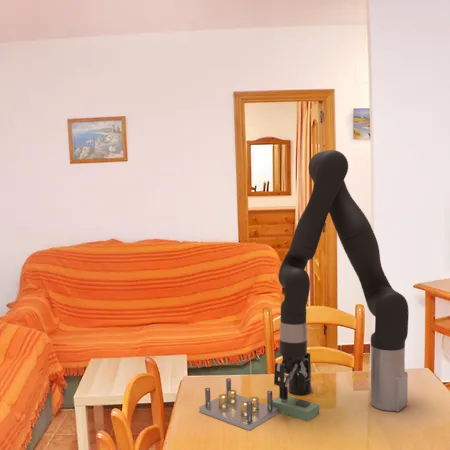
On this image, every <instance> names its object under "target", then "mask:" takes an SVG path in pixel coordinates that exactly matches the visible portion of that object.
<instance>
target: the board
mask: <svg viewBox="0 0 450 450" xmlns="http://www.w3.org/2000/svg"><path fill="white" fill-rule="evenodd" d="M272 404H273V406H274V407H277V408H279V413H278V414H282V415H286V416H289V417H292V418H295V419H298V420H303V421H304V422H305V421H306V422H310V421H311V420H313V419H314V418H315V417H317V416H318V415H320V403H315V402H312V401H308V400H304V399H301V398H298V397H293V396H290V395H288V399H287V400H283V399H281V398H280V396H279V395H278V397H277V396H276V398H273V399H272Z"/></svg>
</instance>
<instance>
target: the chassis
mask: <svg viewBox="0 0 450 450" xmlns="http://www.w3.org/2000/svg"><path fill="white" fill-rule="evenodd" d="M225 379H226V380H225V385H226V386H225V387H226V390H225V391H226V394H225V393H221V394H219V395H218V397H216V398H215V399H212V400H211V388H210V387H206V388H204V393H205V394H204V395H205V398H204V399H205V402H204V403H205V404H202V405H201V406H199V407H198V409H199V413H201V414H204V415H205V416H209V417H212V418H215V419H217V420H220V421H222V422H224V423H227V424H230V425H233V426H236V427H238V428H241V429H244V430H247V431H252V430H253V429H255V428H257V427H258V426H260V425H261V424H263V423H265V422H267V421H268V420H271V419H272V418H273V417H275V416H277V415H278V414H280V413H279V408H277V407H274V406H273V404H272V400H273V390H267V392H266V398H267V399H266V400H267V403H264V402H261V401H259V400H260V399H259V397H258V396H251V397H249V398H248V397H245V396H242V395H240V394H237V390H236V389H232V379H231V378H228V377H227V378H225Z"/></svg>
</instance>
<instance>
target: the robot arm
mask: <svg viewBox="0 0 450 450" xmlns="http://www.w3.org/2000/svg"><path fill="white" fill-rule="evenodd" d="M348 171H349V161H348V159H347V157H346V155H344V154H343V153H342V152H341V151H339V150H333V149H332V150H331V149H329V150H324V151H319V152H317V153H314V155H313V156H312V157H311V159H310V160H309V163H308V173H309V176H310V178H311V180H312V182H313V188H312V191H311V195H310V197H309V200H308V202H307V204H306V207H305V208H304V210H303V213H302V214H301V215H300V218H299V220H298V222H297V224H296V228H295V230H294V233H293V237H292V239H291V242H290V247H289V250H288V251H287V253H286V255H285V256H284V259H283V260H282V262H281V265H280V266H279V270H278V282H279V284H280V285H281V287H282V288H284V300H283V301H282V302H281V304H280V324H279V339H278V340H279V341H278V342H279V349H278V350H279V351H278V352H279V355H281V357H282V361H281V362H280V363H278V362H276V363H274V372H273V373H274V374H273V375H274V376H273V377H274V379H273V385H274V386H278V388H279V395H278V397H279V396H280V398H281V399H283V400H287V399H288V396H289V389H288V383H289V381H290V380H291V379H292V377H293V375H295V374H296V373H297V374H298V375H299V376H298V377H297V388H298V390H302V391H304V390H305V378H306V377H307V374H308V373H310V372H311V373H312V365H311V366H310V364H311V353H309V352H308V327H307V326H308V325H307V304H308V300H309V295H310V290H311V280H310V276H309V274H308V272H307V271H306V270H305V269H306V267H307V265H308V262H309V261H310V260H312V259H314V257H315V255H316V253H317V249H318V246H319V243H320V240H321V236H322V233H323V230H324V227H325V224H326V221H327V218H328V215H329V216H330V219H331V220H332V221H331V222H332V224H333V226H334V229H335V231H336V234H337V236H338V238H339V241H340V243H341V245H342V248H343V250H344V252H345V254H346V256H347V259H348V261H349V263H350V264H351V267H352V269H353V270H354V272H355V274H356V276H357V278H358V281H359V283H360V285H361V289H362V292H363V295H364V298H365V302H366V305H367V308H368V310H369V312H370V314H372V316H374V317H375V318H374V332H373V333H372V334H371V336H370V404H371V405H372V406H373V408H375V409H378V410H382V411H387V412H391V411H392V412H398V413H399V412H400V411H401V410H403V409H404V408H405V407H406V406H408V372H407V371H405V370H406V369H405V367H406V363H405V358H406V354H405V353H406V348H405V347H406V341H407V338H408V332H409V314H410V313H409V304H408V301H407V299H406V297H405V296H404V295H402V294H401V293H399V292H398V291H397V290H395V289H393V287H392V285H391V283H390V282H389V279H388V278H387V276H386V274H385V271H384V269H383V267H382V262H381V255H380V254H381V253H380V248H379V243H378V239H377V237H376V233H374V230H373V228H372V225H371V223H370V221H369V219H368V218H367V216H366V215H365V213H364V211H363V210H362V208H360V206H359V205H358V204H357V203H356V201H355V200H354V198H353V197H352V195H351V194H350V192H349V190H348V187H347V185H346V182H345V179H346V176H347V174H348ZM305 365H306V366H307V368H305ZM288 374H289V375H288Z"/></svg>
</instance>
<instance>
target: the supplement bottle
mask: <svg viewBox="0 0 450 450" xmlns="http://www.w3.org/2000/svg"><path fill="white" fill-rule="evenodd" d="M310 366H311V367H312V365H311V363H310ZM305 368H307V366H306V365H305ZM287 375H289V374H287ZM298 376H299V375H298V374H297V373H296V374H295V375H293V377H292V379H291V380H290V381H289V383H288V386H287V387H288V392H290V393H291V394H293V395H297V396H299V395H300V396H303V395H308V394H310V392H311V391H312V371H311V372H310V373H308V374H307V377H306V378H305V390H304V391H302V390H298V388H297V377H298Z"/></svg>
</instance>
